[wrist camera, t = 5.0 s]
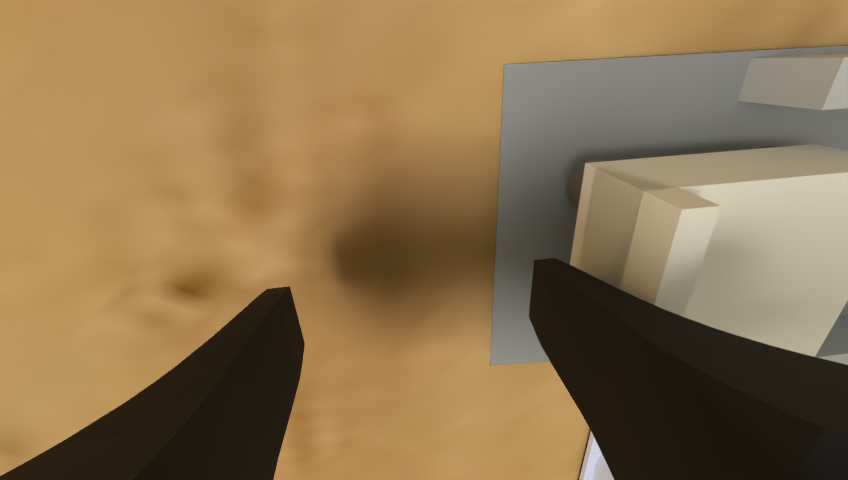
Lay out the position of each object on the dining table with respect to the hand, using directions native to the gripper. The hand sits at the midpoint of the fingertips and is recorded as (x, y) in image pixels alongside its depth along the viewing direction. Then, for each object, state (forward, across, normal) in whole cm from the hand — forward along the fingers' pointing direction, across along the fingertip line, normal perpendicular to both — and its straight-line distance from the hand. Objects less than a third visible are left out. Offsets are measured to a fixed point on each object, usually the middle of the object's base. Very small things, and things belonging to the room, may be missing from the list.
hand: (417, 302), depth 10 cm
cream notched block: (+2, -8, 0) cm, 9 cm away
